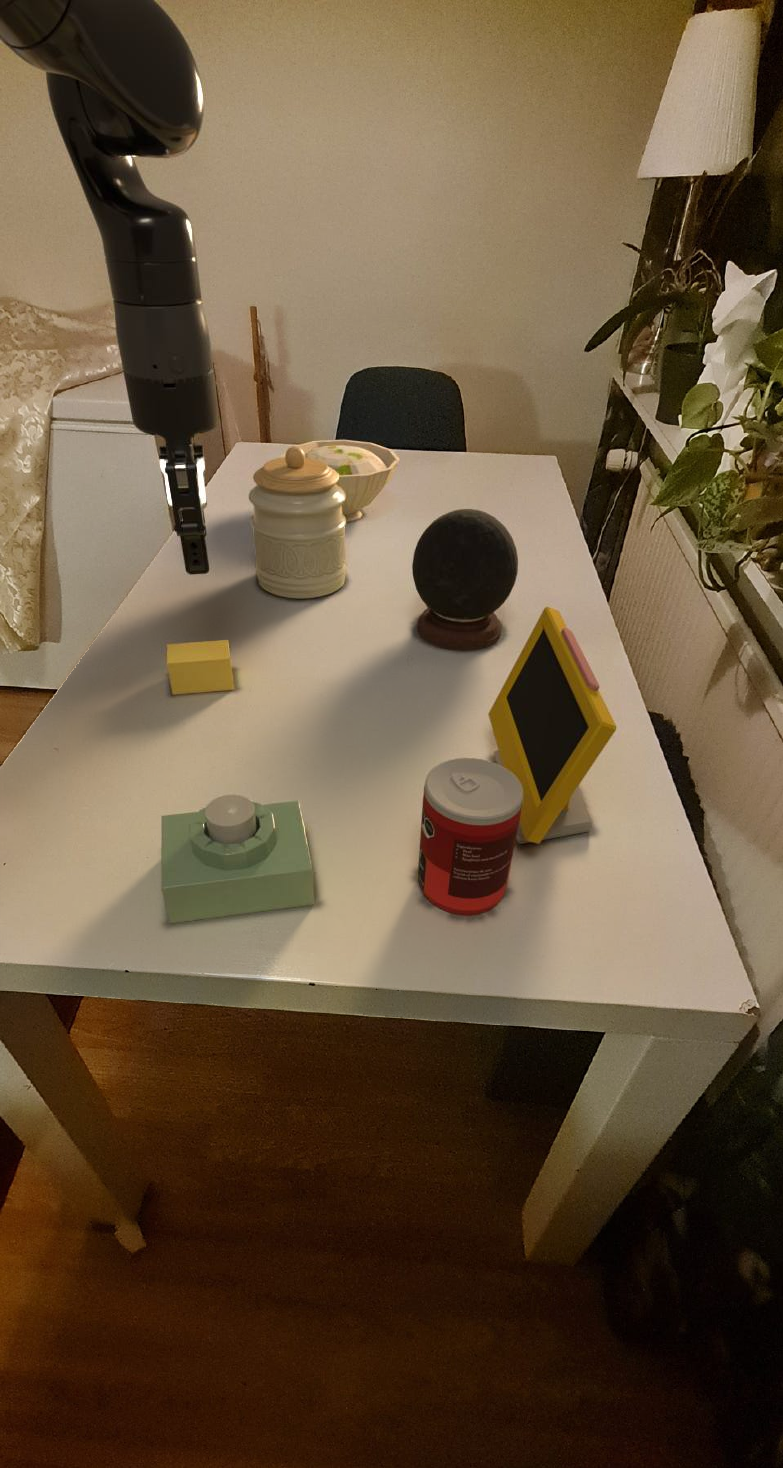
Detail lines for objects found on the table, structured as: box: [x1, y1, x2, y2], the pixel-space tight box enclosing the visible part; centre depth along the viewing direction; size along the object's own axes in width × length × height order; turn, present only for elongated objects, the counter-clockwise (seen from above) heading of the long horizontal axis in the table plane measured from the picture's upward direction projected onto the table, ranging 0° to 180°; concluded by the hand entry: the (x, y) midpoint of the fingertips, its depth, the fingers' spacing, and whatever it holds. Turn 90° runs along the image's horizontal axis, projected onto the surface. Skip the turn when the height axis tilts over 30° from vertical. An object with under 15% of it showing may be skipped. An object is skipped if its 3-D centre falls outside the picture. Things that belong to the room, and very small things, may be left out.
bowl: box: [280, 439, 401, 523], centre depth 127 cm, size 19×19×10 cm
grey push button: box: [204, 794, 257, 845], centre depth 63 cm, size 4×4×2 cm
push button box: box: [160, 800, 315, 924], centre depth 66 cm, size 12×9×6 cm
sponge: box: [166, 639, 235, 696], centre depth 89 cm, size 7×4×4 cm, turn 102°
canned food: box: [417, 757, 523, 916], centre depth 64 cm, size 8×8×11 cm
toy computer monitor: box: [487, 606, 618, 845], centre depth 71 cm, size 20×8×16 cm, turn 4°
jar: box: [248, 445, 348, 599], centre depth 105 cm, size 13×13×18 cm
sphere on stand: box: [411, 508, 519, 651], centre depth 97 cm, size 13×13×15 cm
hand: (197, 554), depth 77 cm, fingers open, 8 cm apart
